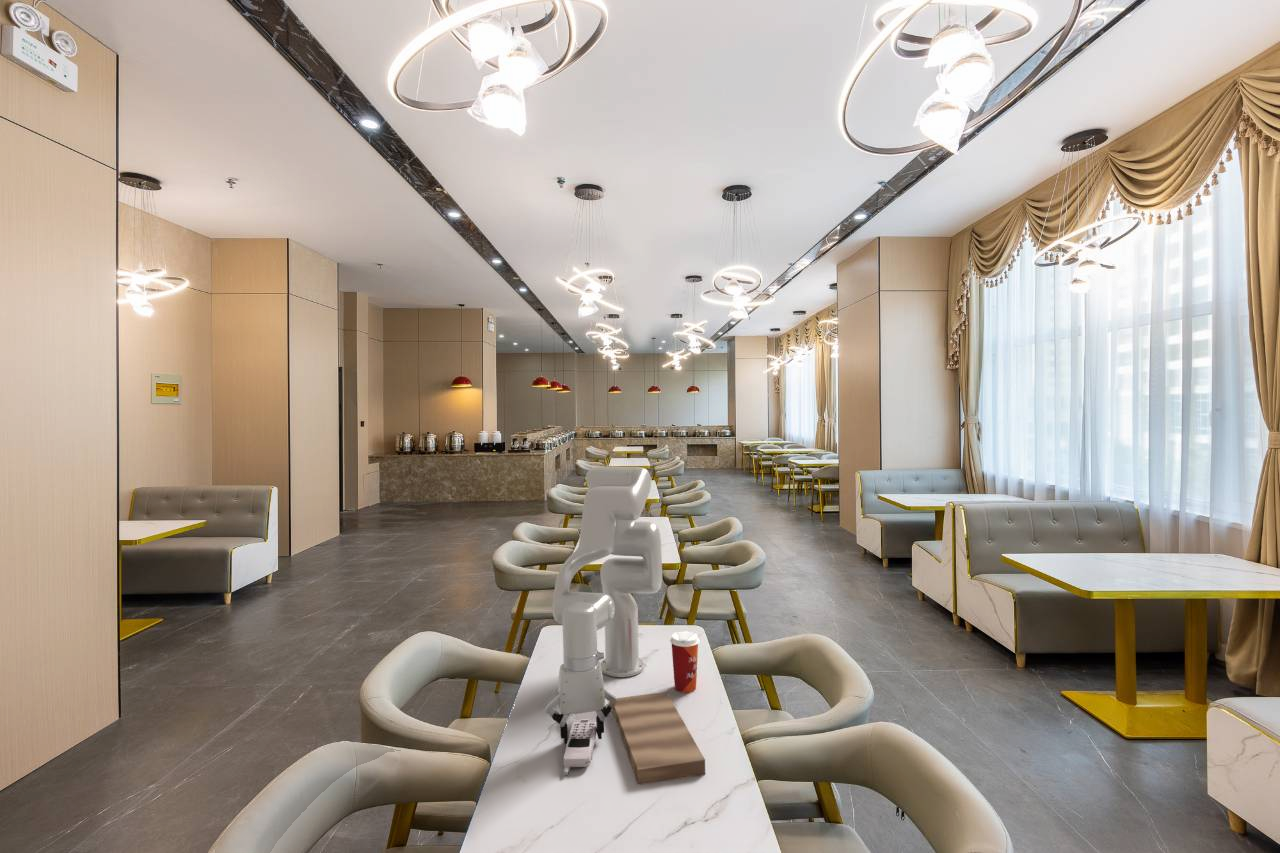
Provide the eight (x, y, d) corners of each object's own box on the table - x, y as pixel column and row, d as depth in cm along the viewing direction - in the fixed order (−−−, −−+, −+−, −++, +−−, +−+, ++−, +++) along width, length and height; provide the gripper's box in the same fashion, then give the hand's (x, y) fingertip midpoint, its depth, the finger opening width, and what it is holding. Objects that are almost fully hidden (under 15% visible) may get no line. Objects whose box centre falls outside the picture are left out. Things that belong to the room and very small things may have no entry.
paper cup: (698, 695, 157) (697, 642, 157) (668, 693, 159) (668, 640, 158) (701, 682, 165) (700, 631, 164) (673, 680, 167) (672, 629, 166)
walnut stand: (611, 710, 151) (611, 698, 150) (666, 703, 154) (666, 691, 153) (638, 784, 121) (637, 769, 121) (705, 774, 124) (705, 759, 124)
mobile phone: (601, 689, 149) (588, 748, 124) (602, 713, 149) (589, 776, 124) (576, 689, 149) (559, 748, 124) (577, 713, 149) (560, 776, 124)
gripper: (616, 649, 141) (617, 724, 142) (539, 657, 137) (542, 734, 138) (622, 662, 133) (623, 742, 134) (542, 672, 130) (544, 753, 131)
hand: (582, 737), depth 136 cm, fingers closed on mobile phone, 6 cm apart
